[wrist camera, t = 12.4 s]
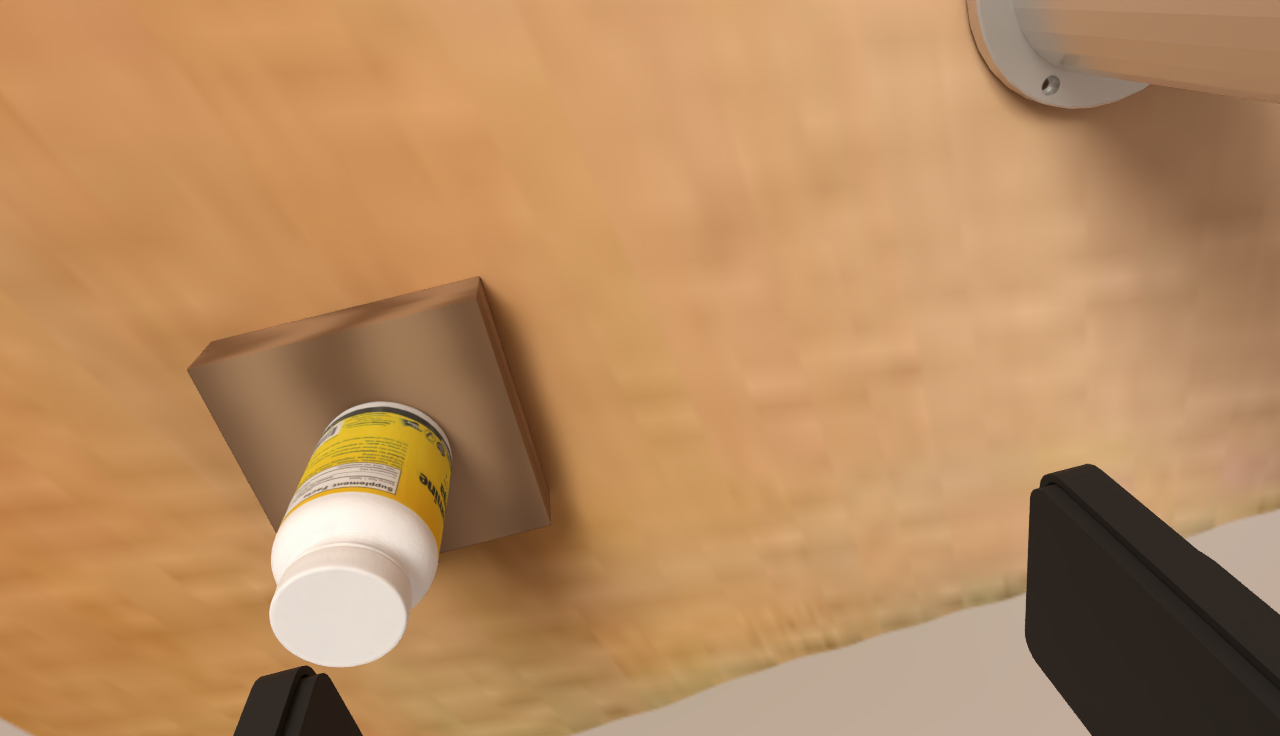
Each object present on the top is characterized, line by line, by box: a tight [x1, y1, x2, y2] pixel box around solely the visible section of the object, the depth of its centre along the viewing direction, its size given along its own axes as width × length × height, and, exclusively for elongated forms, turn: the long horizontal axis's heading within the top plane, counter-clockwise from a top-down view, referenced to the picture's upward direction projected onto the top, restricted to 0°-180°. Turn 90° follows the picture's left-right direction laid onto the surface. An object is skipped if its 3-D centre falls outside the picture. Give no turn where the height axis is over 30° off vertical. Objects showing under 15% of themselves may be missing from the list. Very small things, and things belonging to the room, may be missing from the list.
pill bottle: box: [269, 402, 452, 667], centre depth 32 cm, size 6×6×11 cm
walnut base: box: [187, 277, 551, 553], centre depth 38 cm, size 13×13×3 cm
